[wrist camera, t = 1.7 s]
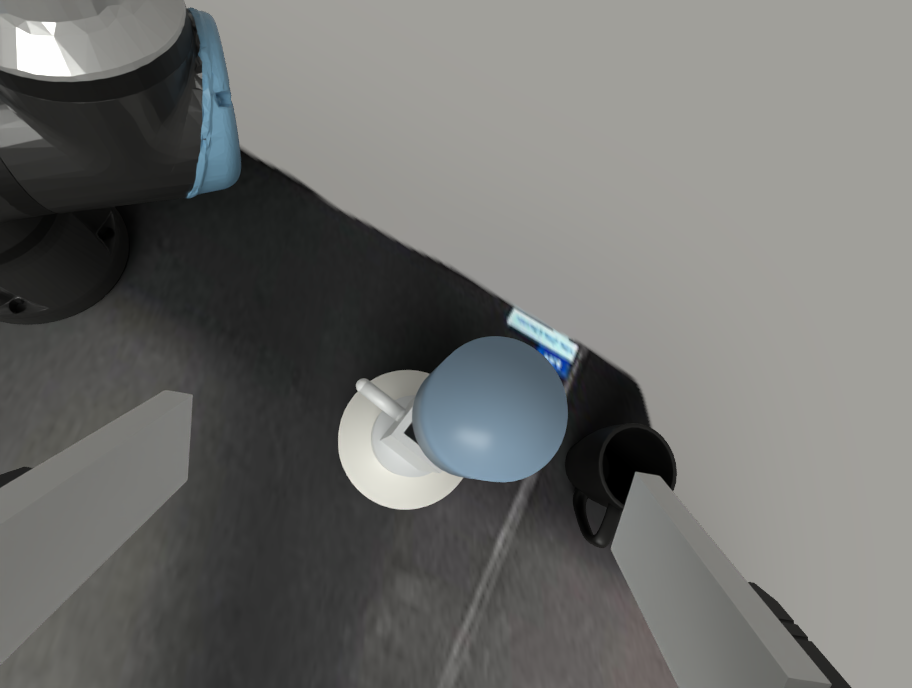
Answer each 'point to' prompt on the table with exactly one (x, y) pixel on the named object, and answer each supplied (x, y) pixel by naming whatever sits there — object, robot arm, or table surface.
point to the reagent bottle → (389, 444)
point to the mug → (614, 471)
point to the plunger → (491, 411)
